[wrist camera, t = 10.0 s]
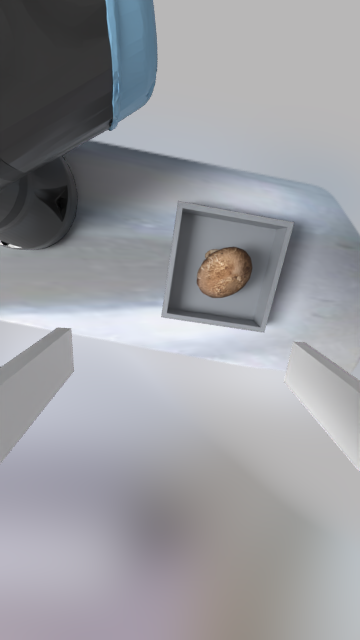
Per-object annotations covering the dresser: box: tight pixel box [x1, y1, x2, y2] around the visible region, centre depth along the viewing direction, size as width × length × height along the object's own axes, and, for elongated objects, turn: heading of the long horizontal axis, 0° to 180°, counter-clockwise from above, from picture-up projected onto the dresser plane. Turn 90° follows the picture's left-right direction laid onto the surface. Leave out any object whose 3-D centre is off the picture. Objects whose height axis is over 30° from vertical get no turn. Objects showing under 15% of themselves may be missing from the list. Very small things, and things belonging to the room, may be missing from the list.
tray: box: [161, 201, 294, 332], centre depth 34 cm, size 15×15×4 cm
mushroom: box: [197, 247, 253, 298], centre depth 33 cm, size 8×8×6 cm
